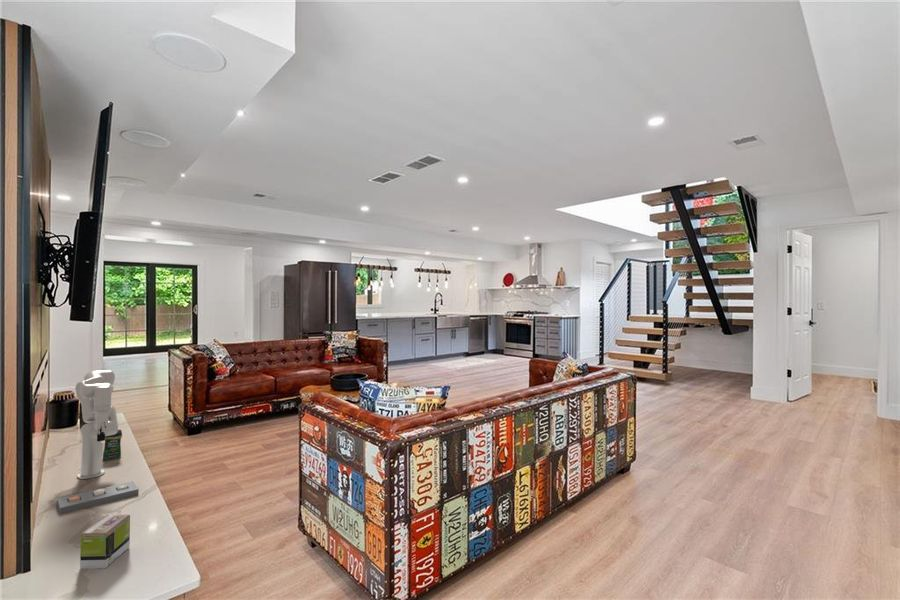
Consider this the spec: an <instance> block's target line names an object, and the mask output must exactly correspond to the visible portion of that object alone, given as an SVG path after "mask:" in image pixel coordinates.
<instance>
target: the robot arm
mask: <svg viewBox="0 0 900 600" xmlns="http://www.w3.org/2000/svg"><path fill="white" fill-rule="evenodd" d="M114 372H115V371H113V370H111V369H106V370H92V371H89V372H87V373H86V374H85V375H84V377H83V379H84V380H82V381H79V382H77V383H76V384H75V388H74V389H75V395H76V398H77V399H78V401H79V402H80V405H81V414H82V420H83V423H84V424H83V425H82V426H81V427H80V437H81V459H80V461H81V463H80V464H81V465H80V473H78V474H77V475H76V477H77V479H80V480H88V479H93V478H97V477H100V476H102V475H104V474H105V469H102V462H103V443H102V442H105V437H106V436H111V435H115V434H116V433H117V431H118V430H119V424H118V418H117V417H118V416H117V410H116V408H115V406H114V405H112V393H113V392H114V386H113V385H114V382H115V380H116V379H115V378H116V376H115V373H114Z"/></svg>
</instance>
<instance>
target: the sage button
mask: <svg viewBox="0 0 900 600" xmlns="http://www.w3.org/2000/svg"><path fill="white" fill-rule="evenodd" d="M124 489H127V485H122V486H119V487H117V491H120V490H124Z"/></svg>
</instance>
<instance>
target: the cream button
mask: <svg viewBox="0 0 900 600" xmlns="http://www.w3.org/2000/svg"><path fill="white" fill-rule="evenodd" d="M97 489H98V490H96V489H94V490H95V491H94V496H99V495H103V494H104V491H105V490H104V489H100V488H97Z"/></svg>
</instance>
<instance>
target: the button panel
mask: <svg viewBox="0 0 900 600" xmlns="http://www.w3.org/2000/svg"><path fill="white" fill-rule="evenodd" d="M122 485H127V489H124V490H120V491H117V487H119V486H122ZM98 489H104V490H105V491H104V494H103V495H99V496H94V491H95V490H98ZM137 495H139V487H138V486H137V484H135V482H134V481H133V480H132V481H128V482H123V483H119V484H114V485H110V486H106V487H102V488H101V487H100V488H97V489H92V490H89V491H88V490H87V491H83V492H79V493H76V494H71V495H66V496H61V497H57V498H56V506H57V509H58V512H59V515H62V514H65V513H66V514H67V513H69V512H74V511H78V510H81V509H85V508H90V507H94V506H98V505H102V504H106V503H110V502H114V501H118V500H121V499H125V498H130V497H134V496H137ZM75 496H80V500H78V501H73V502H69V498H71V497H75Z"/></svg>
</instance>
